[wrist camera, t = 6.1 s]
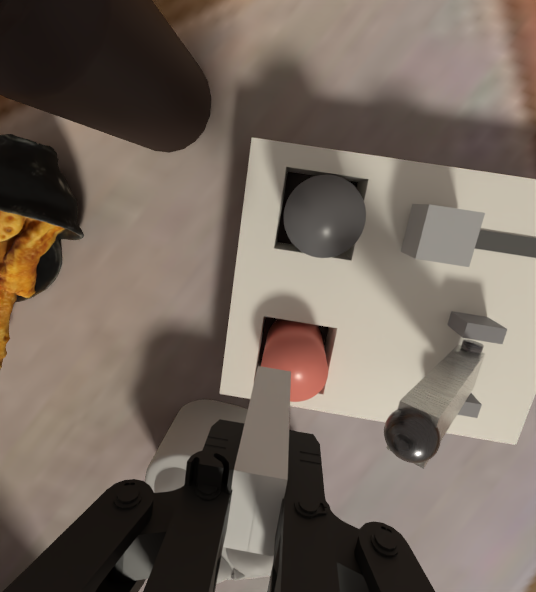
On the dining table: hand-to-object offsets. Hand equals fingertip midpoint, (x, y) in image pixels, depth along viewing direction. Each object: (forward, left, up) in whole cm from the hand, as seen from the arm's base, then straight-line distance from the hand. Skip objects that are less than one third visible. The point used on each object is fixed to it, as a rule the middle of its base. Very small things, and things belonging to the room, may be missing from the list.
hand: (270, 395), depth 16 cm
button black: (+1, +8, -11) cm, 14 cm away
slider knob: (+8, +8, -9) cm, 15 cm away
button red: (+1, -2, -13) cm, 13 cm away
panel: (+7, +3, -13) cm, 16 cm away
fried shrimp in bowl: (-21, +1, -14) cm, 25 cm away
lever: (+12, 0, -8) cm, 15 cm away
